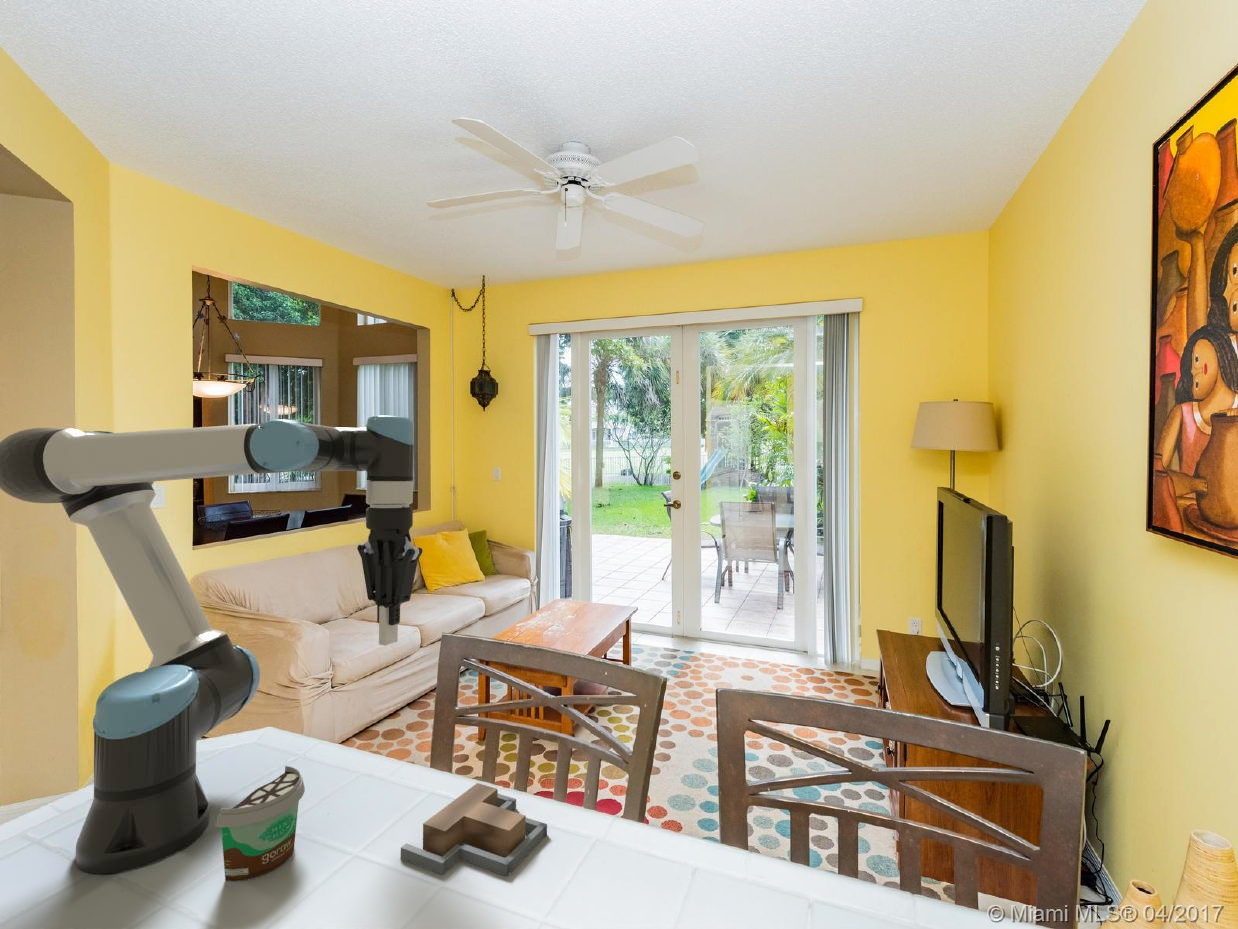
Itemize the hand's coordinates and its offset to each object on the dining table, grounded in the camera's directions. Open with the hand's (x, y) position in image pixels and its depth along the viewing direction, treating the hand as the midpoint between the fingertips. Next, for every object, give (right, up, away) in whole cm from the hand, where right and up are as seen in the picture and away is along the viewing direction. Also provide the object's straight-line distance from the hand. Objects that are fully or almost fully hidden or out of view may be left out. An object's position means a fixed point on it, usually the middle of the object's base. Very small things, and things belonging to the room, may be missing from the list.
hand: (388, 642), depth 101 cm
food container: (-8, -24, -20) cm, 32 cm away
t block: (+20, -25, -15) cm, 35 cm away
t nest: (+20, -24, -15) cm, 35 cm away
